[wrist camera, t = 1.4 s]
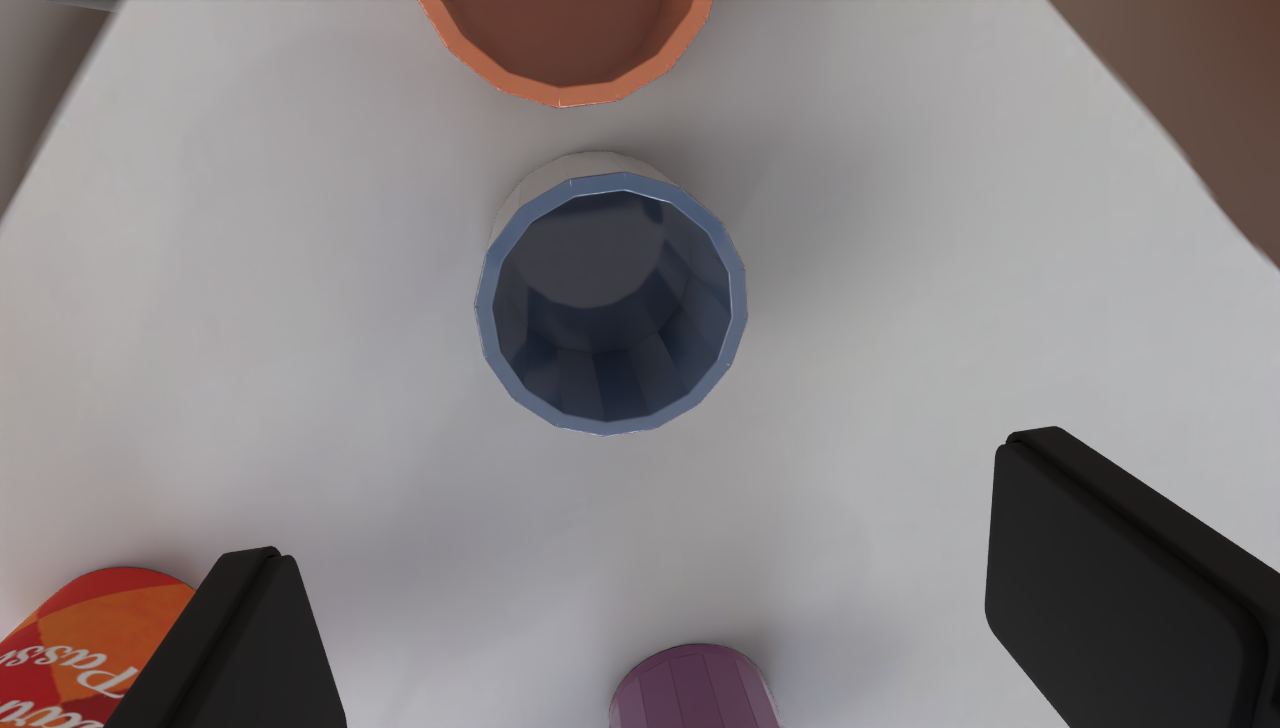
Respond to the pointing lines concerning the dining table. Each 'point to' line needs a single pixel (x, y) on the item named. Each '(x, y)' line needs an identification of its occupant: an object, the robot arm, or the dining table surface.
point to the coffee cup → (86, 647)
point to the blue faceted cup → (608, 295)
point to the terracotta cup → (568, 44)
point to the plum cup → (695, 692)
